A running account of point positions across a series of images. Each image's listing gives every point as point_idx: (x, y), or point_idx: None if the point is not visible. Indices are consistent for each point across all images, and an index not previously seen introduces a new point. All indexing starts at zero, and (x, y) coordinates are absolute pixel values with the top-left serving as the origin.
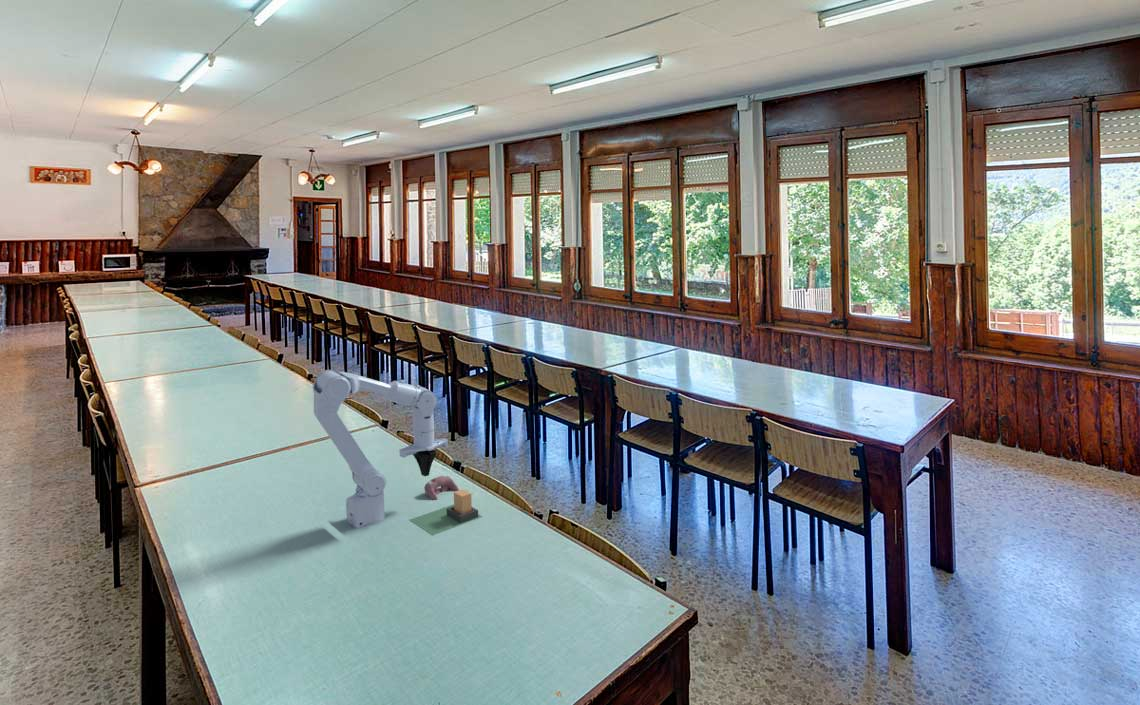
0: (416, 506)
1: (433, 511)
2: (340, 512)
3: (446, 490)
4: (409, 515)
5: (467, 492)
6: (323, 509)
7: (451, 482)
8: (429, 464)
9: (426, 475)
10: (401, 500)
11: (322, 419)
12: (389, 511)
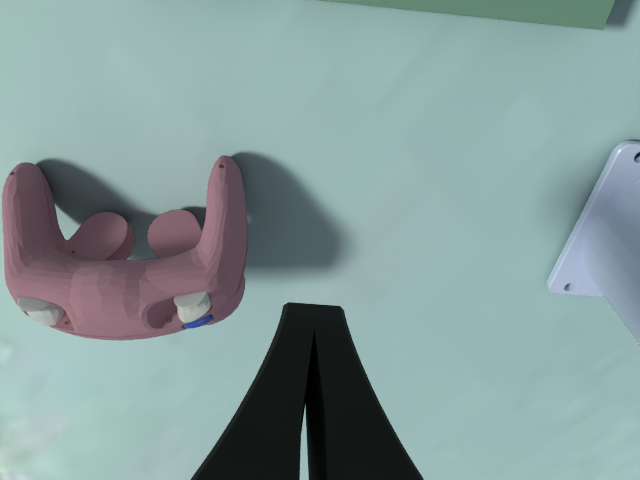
0: (350, 208)
1: (373, 2)
2: (616, 385)
3: (94, 229)
4: (471, 137)
5: None
6: (619, 435)
7: (26, 251)
8: (280, 426)
9: (324, 308)
10: (355, 314)
11: None
12: (493, 260)
